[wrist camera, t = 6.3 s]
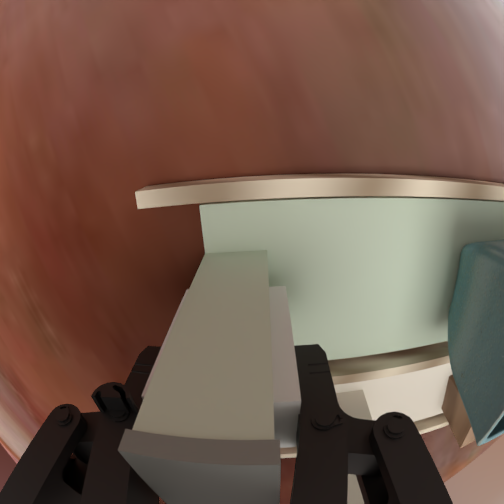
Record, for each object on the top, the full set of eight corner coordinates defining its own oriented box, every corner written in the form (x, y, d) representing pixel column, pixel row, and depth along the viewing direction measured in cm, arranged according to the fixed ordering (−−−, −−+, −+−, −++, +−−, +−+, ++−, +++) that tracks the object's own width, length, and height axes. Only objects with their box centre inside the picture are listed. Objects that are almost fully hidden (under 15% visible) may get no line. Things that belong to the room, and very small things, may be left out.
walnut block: (441, 408, 19) (460, 448, 15) (448, 376, 18) (474, 420, 13) (482, 386, 19) (504, 421, 14) (493, 352, 17) (521, 389, 12)
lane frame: (210, 444, 22) (206, 471, 19) (147, 186, 13) (120, 198, 11) (506, 388, 20) (517, 405, 17) (572, 195, 12) (595, 205, 9)
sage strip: (221, 359, 17) (195, 529, 7) (199, 203, 14) (65, 372, 3) (501, 321, 16) (573, 410, 6) (531, 203, 13) (642, 266, 2)
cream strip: (311, 435, 21) (323, 550, 10) (320, 375, 18) (347, 531, 7) (501, 385, 20) (543, 454, 9) (531, 326, 17) (591, 397, 6)
